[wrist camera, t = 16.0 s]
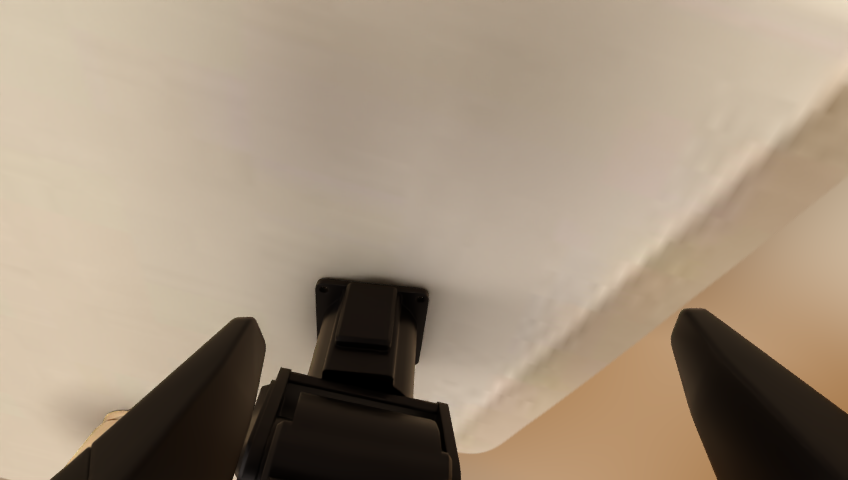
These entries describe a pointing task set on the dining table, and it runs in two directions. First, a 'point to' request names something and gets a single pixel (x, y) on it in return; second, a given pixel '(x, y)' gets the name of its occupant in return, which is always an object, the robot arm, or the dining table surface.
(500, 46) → the dining table surface
